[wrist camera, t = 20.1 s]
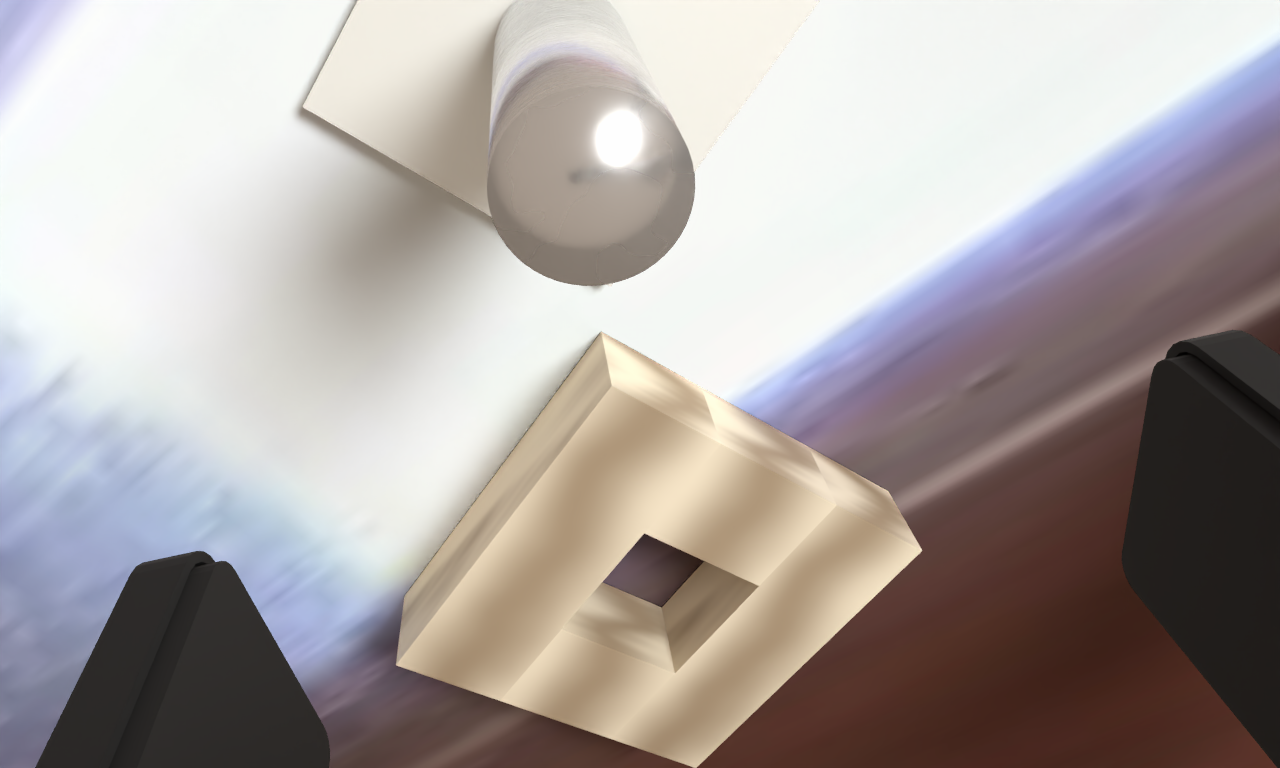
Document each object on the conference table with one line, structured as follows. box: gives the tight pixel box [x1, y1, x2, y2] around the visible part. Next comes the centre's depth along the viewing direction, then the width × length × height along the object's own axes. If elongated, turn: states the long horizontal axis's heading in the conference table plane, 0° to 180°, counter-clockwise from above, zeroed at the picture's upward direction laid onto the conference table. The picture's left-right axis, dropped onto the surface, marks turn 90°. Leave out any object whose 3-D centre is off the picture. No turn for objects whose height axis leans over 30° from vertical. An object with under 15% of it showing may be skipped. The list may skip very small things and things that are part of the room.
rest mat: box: [303, 0, 820, 287], centre depth 29 cm, size 12×12×1 cm
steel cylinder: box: [487, 0, 695, 286], centre depth 24 cm, size 4×4×12 cm
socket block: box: [396, 332, 922, 768], centre depth 40 cm, size 16×16×4 cm
